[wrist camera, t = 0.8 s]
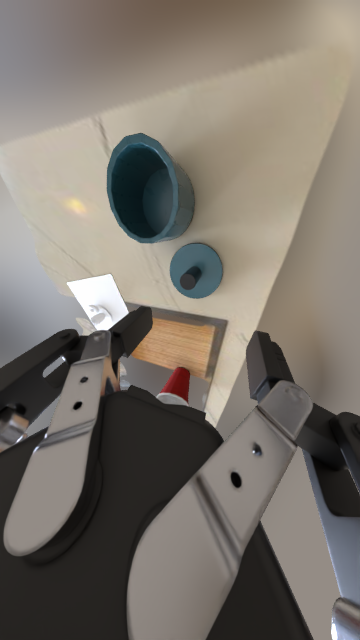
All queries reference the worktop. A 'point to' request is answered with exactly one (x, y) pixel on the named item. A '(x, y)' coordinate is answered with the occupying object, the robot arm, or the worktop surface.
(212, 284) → the lid
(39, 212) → the worktop surface
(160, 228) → the canister
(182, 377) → the plastic cup
